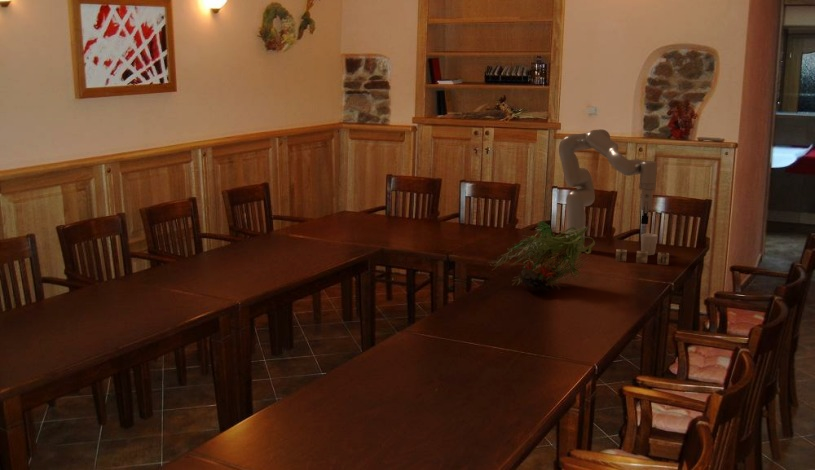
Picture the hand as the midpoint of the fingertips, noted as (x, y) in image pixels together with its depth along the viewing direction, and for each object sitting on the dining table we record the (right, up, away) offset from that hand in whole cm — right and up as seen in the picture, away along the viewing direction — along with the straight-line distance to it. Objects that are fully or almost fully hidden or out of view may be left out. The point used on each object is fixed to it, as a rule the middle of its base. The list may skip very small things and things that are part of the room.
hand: (644, 223), depth 416 cm
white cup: (+8, -15, +22) cm, 28 cm away
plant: (-57, -28, -46) cm, 79 cm away
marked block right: (+9, -20, +1) cm, 22 cm away
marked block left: (-10, -18, +6) cm, 22 cm away
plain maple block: (0, -19, +4) cm, 19 cm away
